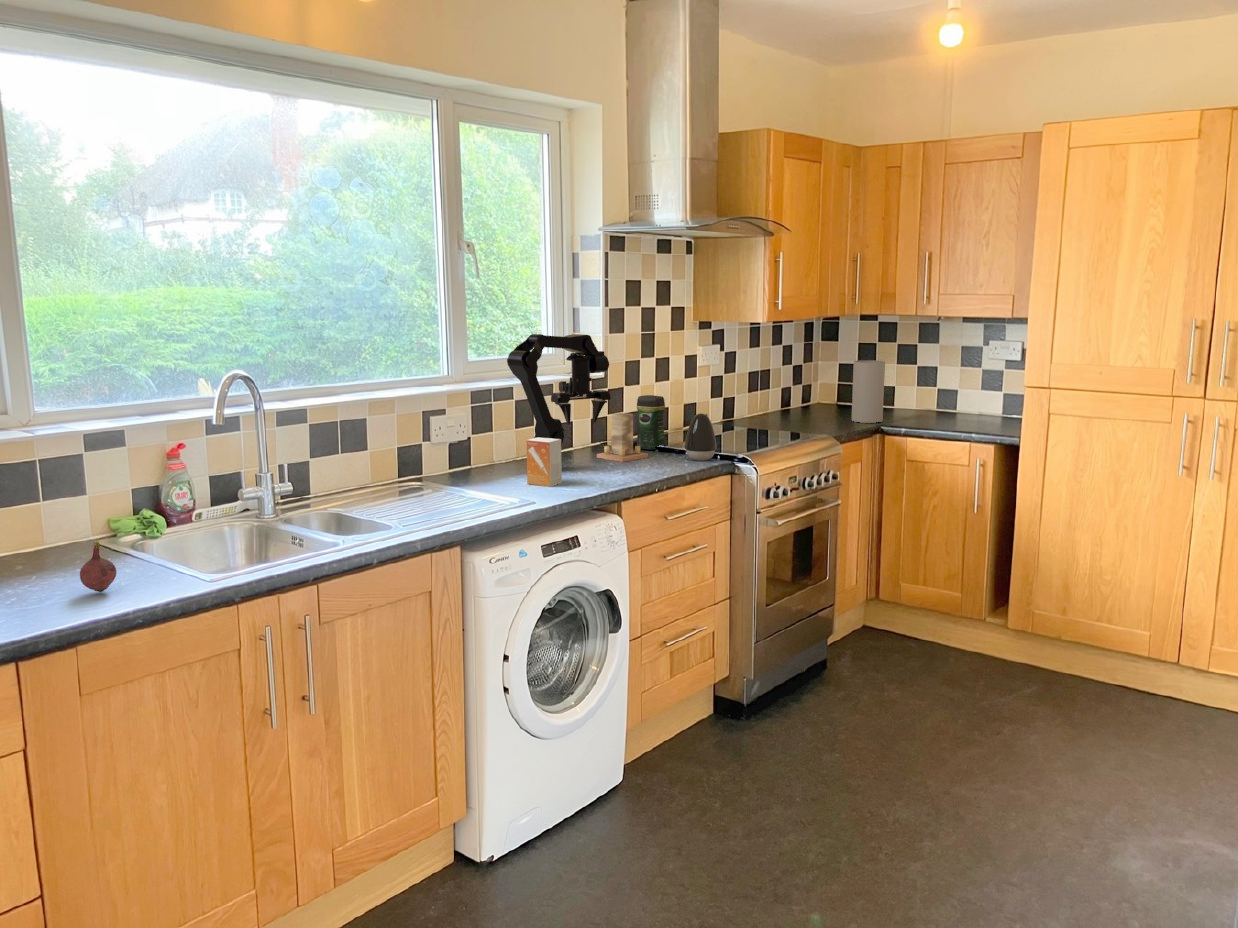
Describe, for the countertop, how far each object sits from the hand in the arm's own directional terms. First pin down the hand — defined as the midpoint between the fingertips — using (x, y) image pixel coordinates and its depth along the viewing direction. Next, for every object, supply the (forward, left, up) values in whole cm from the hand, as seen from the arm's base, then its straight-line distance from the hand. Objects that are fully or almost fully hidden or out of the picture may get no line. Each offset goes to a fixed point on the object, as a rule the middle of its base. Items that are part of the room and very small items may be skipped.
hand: (581, 423), depth 309 cm
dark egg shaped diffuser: (+37, -13, -13) cm, 41 cm away
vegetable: (-139, -73, -13) cm, 158 cm away
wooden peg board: (+17, +3, -13) cm, 22 cm away
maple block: (+17, +3, -12) cm, 21 cm away
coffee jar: (+35, +15, -13) cm, 40 cm away
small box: (-24, -23, -13) cm, 36 cm away
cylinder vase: (+146, +25, -13) cm, 149 cm away
